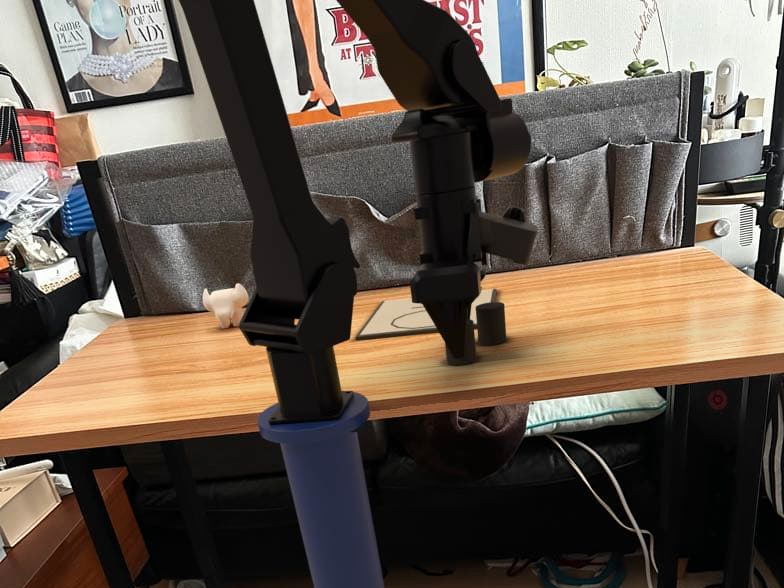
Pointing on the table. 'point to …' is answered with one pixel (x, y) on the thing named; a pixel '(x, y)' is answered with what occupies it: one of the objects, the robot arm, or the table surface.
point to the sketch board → (409, 317)
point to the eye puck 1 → (469, 348)
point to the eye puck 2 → (491, 323)
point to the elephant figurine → (226, 304)
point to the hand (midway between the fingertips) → (460, 351)
